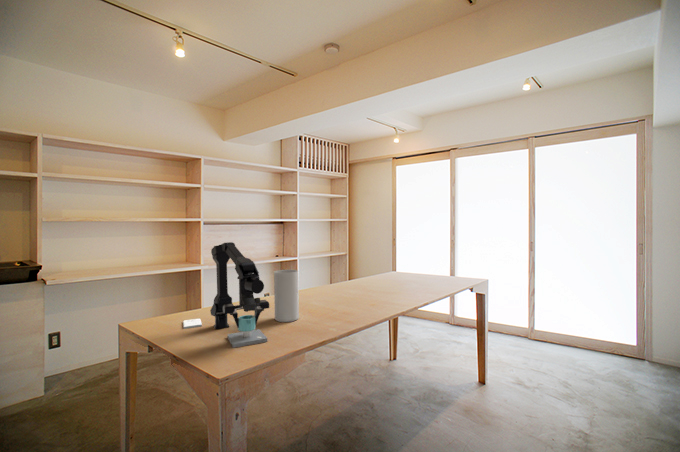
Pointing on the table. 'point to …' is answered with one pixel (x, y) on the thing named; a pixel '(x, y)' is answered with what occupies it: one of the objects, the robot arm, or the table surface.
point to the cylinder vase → (286, 295)
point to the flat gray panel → (246, 338)
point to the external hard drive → (192, 323)
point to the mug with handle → (246, 323)
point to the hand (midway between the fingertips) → (246, 326)
